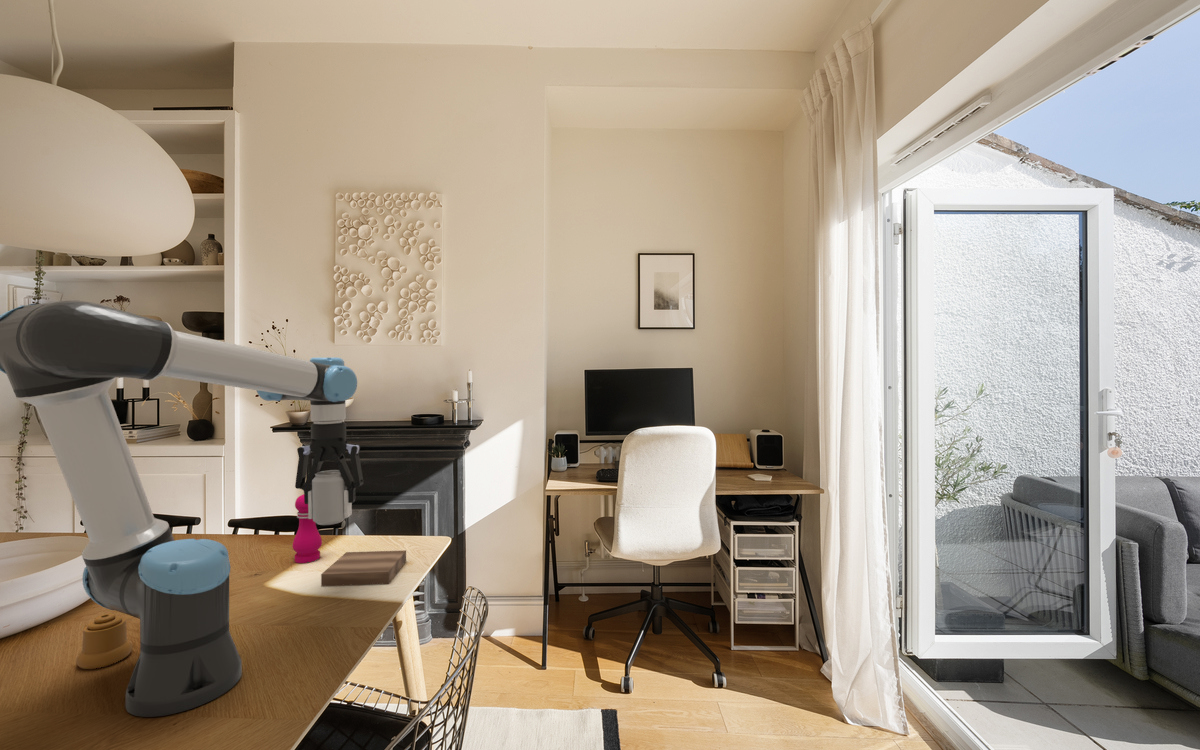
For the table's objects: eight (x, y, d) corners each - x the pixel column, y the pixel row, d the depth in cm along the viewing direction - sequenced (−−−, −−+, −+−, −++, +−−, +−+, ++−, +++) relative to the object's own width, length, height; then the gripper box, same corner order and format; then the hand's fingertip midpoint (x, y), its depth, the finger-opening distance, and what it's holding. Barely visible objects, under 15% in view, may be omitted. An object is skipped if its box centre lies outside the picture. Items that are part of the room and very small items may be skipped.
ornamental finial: (142, 648, 101) (110, 670, 93) (100, 650, 100) (64, 672, 93) (142, 606, 101) (110, 624, 93) (100, 607, 100) (63, 626, 93)
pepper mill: (325, 559, 149) (325, 488, 149) (297, 566, 144) (297, 492, 144) (316, 553, 154) (316, 484, 154) (288, 559, 149) (288, 488, 149)
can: (333, 527, 123) (332, 475, 123) (305, 525, 125) (304, 474, 124) (354, 517, 130) (353, 469, 130) (327, 516, 132) (326, 468, 132)
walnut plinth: (388, 583, 131) (388, 571, 131) (321, 586, 130) (321, 574, 130) (406, 561, 147) (406, 550, 147) (346, 563, 146) (346, 552, 146)
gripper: (377, 419, 132) (379, 510, 132) (291, 420, 130) (293, 513, 130) (367, 422, 124) (368, 519, 125) (275, 424, 122) (278, 522, 123)
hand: (330, 516), depth 127 cm, fingers closed on can, 7 cm apart
